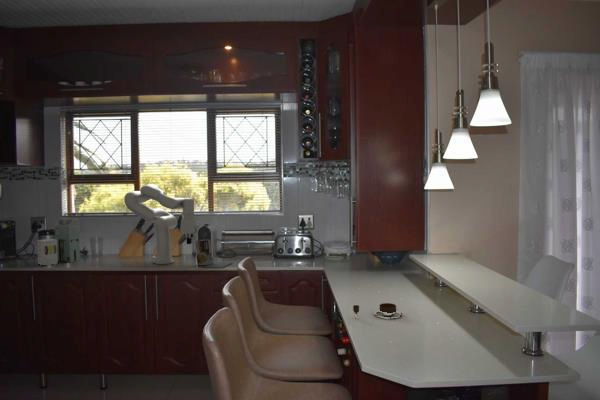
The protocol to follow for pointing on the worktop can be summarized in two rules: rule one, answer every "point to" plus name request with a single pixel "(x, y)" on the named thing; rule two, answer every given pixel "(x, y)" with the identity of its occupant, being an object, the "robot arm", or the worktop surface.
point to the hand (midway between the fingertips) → (189, 243)
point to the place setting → (383, 307)
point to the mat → (218, 265)
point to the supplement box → (47, 251)
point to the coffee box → (204, 252)
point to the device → (67, 239)
